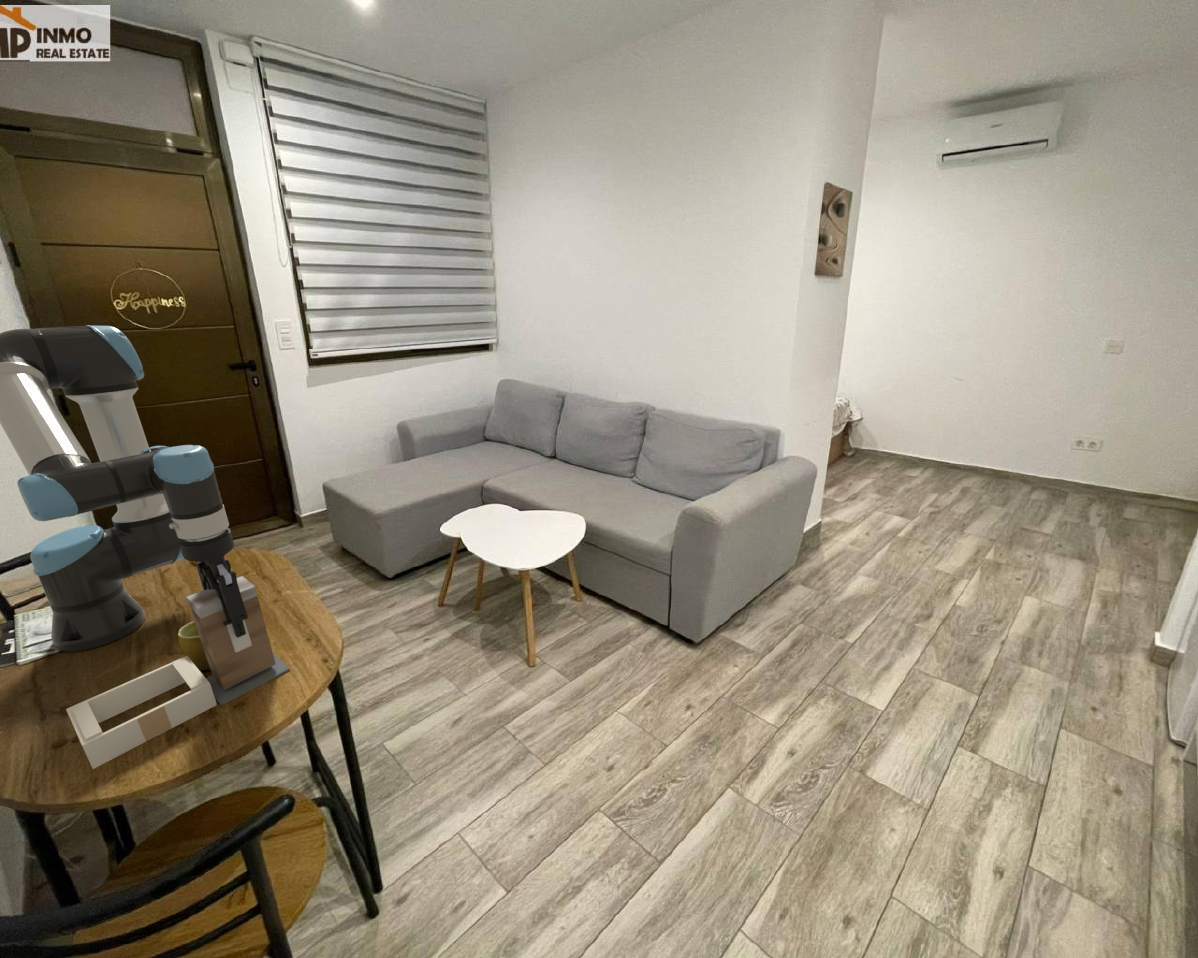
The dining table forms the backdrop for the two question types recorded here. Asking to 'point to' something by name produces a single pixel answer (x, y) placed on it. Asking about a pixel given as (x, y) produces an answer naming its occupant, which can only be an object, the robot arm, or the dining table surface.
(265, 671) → the mat
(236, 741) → the dining table surface
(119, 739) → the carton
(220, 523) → the robot arm
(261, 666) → the walnut box
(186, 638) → the mug
